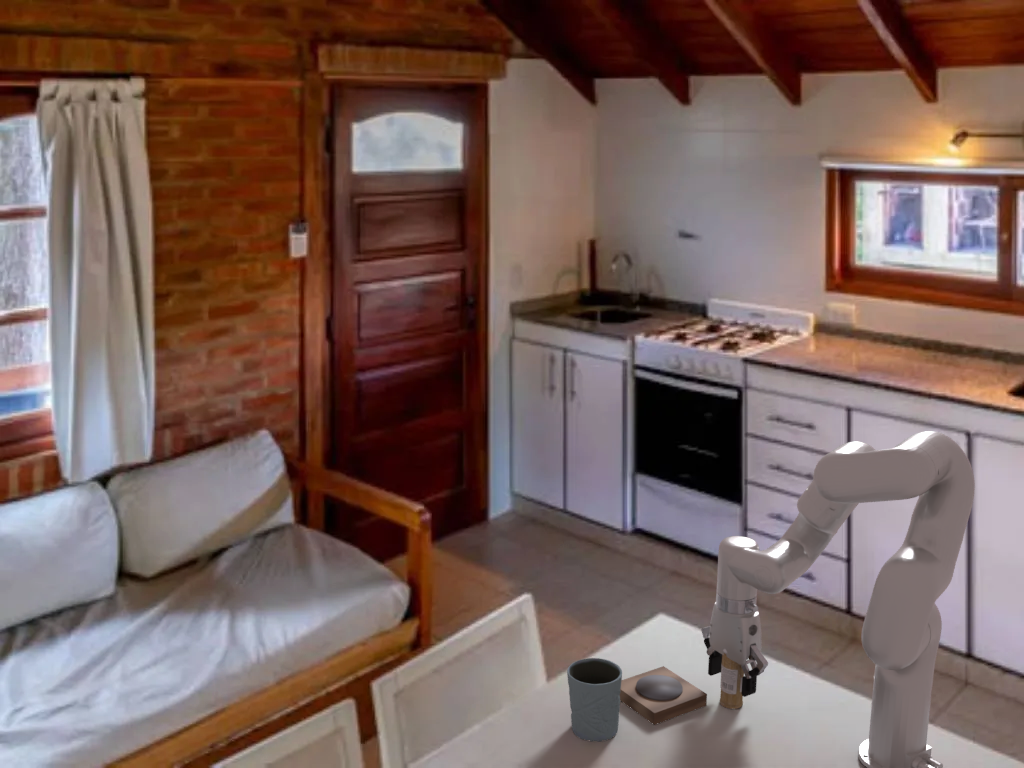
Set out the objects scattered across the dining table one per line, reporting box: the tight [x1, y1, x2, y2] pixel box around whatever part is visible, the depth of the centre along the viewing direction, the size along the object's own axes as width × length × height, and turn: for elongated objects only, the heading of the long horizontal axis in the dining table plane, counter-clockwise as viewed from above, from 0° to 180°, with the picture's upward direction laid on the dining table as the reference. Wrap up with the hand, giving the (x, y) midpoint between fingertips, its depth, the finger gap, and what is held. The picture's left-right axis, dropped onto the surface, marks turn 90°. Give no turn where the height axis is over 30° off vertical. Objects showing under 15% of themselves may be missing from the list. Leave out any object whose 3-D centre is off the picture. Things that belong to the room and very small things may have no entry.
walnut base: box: [620, 665, 708, 726], centre depth 212 cm, size 13×13×3 cm
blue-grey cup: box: [566, 657, 623, 742], centre depth 201 cm, size 10×10×12 cm
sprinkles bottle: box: [719, 649, 745, 710], centre depth 209 cm, size 5×5×14 cm
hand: (731, 683), depth 210 cm, fingers open, 8 cm apart
